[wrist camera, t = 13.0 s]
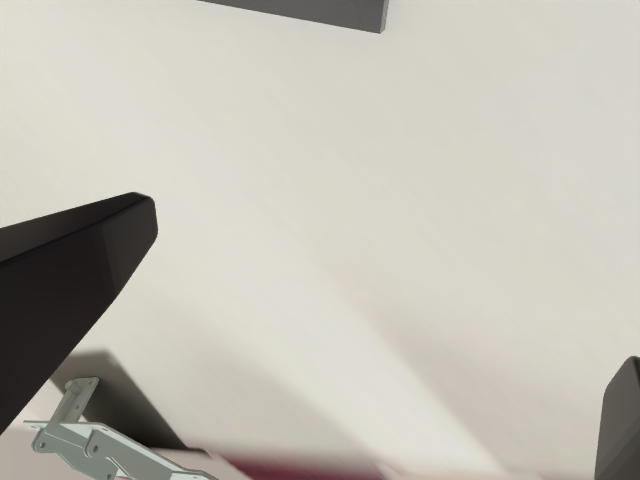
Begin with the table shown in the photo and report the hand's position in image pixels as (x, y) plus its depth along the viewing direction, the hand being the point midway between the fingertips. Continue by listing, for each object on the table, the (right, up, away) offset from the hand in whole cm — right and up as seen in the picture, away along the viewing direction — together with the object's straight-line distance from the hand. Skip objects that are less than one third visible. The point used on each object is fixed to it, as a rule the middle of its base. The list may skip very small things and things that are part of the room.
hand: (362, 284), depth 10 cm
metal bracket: (-24, -18, +40) cm, 50 cm away
